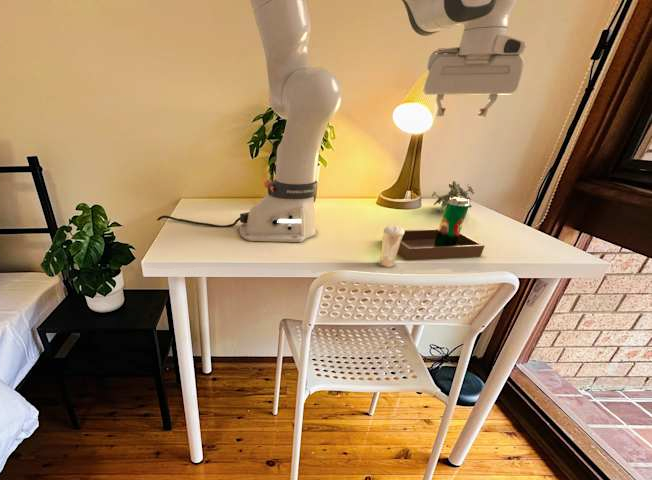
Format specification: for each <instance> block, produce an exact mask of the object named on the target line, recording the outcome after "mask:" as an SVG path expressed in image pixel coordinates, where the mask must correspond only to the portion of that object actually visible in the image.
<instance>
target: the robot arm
mask: <svg viewBox="0 0 652 480" xmlns="http://www.w3.org/2000/svg"><path fill="white" fill-rule="evenodd" d="M249 2H250V6H251V9H252V12H253V16H254V20H255V23H256V26H257V31H258V34H259V37H260V41H261V44H262V48H263V53H264V57H265V64H266V70H267V71H266V72H267V79H268V87H269V88H268V92H267V93H268V95H267V97H268V103H269V106H270V108H271V110H272V111H273V112H274V114H276V115H277V116H278V117H280V118H281V119H282V120H285V121H286V123H285V128H284V130H283V135H282V138H281V141H280V143H279V144H278V146H277V149H276V162H275V179H274V180H272V181H271V180H270V179H266V180H265V181H264V184H263V185H264V187H265V188H266V189H267V195H266V196H264V197H263V198H262V199H260V200H259V201H258V202H256V203H255V204H254V205H253V206H251V207H250V209H249V211H248V212H243V213H239V217H237V219H236V220H234V222H233V223H230V224H225V225H224V224H223V225H220V224H213V223H210V222H209V223H208V222H202V221H201V222H200V221H194V220H189V219H183V218H177V217H174V216H170V215H161V216H159V217H158V218H157V219H156V221H160V220H162V219H168V220H169V219H170V220H173V221H175V222H181V223H182V222H183V223H189V224H193V225H198V226H199V225H200V226H206V227H213V228H232V227H234V226H236V225H237V224H238V223H239V222H240V223H242V224H241V225H239V234H240V236H241V237H242V238H243V239H244V240H246V241H248V242H275V243H278V242H279V243H280V242H281V243H303V242H304V241H305V240H306V239H309V238H311V237H313V236H315V235H317V228H316V221H315V202H316V199H317V194H318V180H317V176H318V175H317V174H318V168H319V167H318V166H319V157H320V150H321V147H322V144H323V139H324V136H325V133H326V131H327V128H328V126H329V124H330V121H331V119H332V117H333V116H335V114H336V113H337V111H338V109H339V108H340V106H341V103H342V99H343V88H342V87H343V86H342V83H341V81H340V79H339V77H338V76H337V75H336V74H335V73H334V72H332V71H330V70H328V69H326V68H323V67H321V66H315V67H314V66H313V67H311V64H310V56H309V54H310V53H309V51H310V50H309V43H310V36H311V33H312V22H311V17H310V13H309V8H308V4H307V0H249ZM401 2H402V3H403V5H404V8H405V10H406V13H407V17H408V21H409V23H410V24H409V25H410V26H411V29H412V30H413V31H414V32H415V33H416V34H418V35H419V36H424V37H428V36H432V35H435V34H437V33H439V32H440V31H444V30H448V29H451V28H454V27H457V26H460V25H463V26H464V27H463V31H462V35H461V39H460V43H459V46H457V47H447V48H445V47H440V48H437V49H436V50H434V51H433V52H432V53H431V54H430V56H429V58H428V61H427V70H428V73H427V76H426V79H425V82H424V85H423V90H422V92H423V93H424V95H427V96H428V95H430V96H431V95H434V96H436V99H435V102H436V105H437V108H438V109H437V113H436V117H444V116H445V112H446V108H445V107H443V105H442V101H443V100H444V97H445V95H451V96H452V95H457V96H459V95H460V96H461V95H463V96H464V95H471V96H473V95H477V96H478V95H480V96H481V95H488V98H487V100H488V102H487V104H486V105H485V106H484V108H482V107H481V108H479V111H478V114H477V117H478V118H486V116H487V114H488V110H489V109H490V108H491V107H492V106H493V104H494V103H495V102H496V101H497V99H498V96H499V95H502V96H503V95H506V96H507V95H513V94H514V93H515V92H516V91H517V90H518V88H519V86H520V82H521V79H522V74H523V69H524V63H525V60H524V57H523V56H522V54H523V53H524V52H525V50H526V47H527V42H526V41H524V40H521V39H518V38H516V37H512V36H509V35H507V32H508V29H509V26H510V25H509V24H510V17H511V16H510V15H511V13H512V11H513V9H514V7H515V5H516V4H517V0H401Z"/></svg>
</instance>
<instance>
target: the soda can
mask: <svg viewBox="0 0 652 480" xmlns="http://www.w3.org/2000/svg"><path fill="white" fill-rule="evenodd" d="M469 209H470V208H469V200H468V199H465V198H460V197H452V198H450V199H449V201H448V202H447V203H446V206H445V207H444V210H443V213H442V216H441V220H440V223H439V226H438V228H437V229H438V233H437V236H436V239H435V245H436V247H439V246H456V243H457V240H458V237H459V234H460V232H461V231H462V228H463V225H464V222H465V219H466V217H467V214H468V212H469V211H468V210H469Z"/></svg>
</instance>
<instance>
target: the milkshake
mask: <svg viewBox="0 0 652 480" xmlns="http://www.w3.org/2000/svg"><path fill="white" fill-rule="evenodd" d="M404 230H405V229H404V228H403V227H401V226H400V225H388V226H386V227H385V228H383V232H382V241H381V251H380V256H379V263H378V264H379V265H380V266H381V267H385V268H391V267H393V266H394V264H395V261H396V258H397V255H398V253H397V252H398V249H399V247H400V244H401V241H402V239H403V236H404V233H405V231H404Z"/></svg>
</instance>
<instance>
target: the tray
mask: <svg viewBox="0 0 652 480" xmlns="http://www.w3.org/2000/svg"><path fill="white" fill-rule="evenodd" d="M438 229H439V228H431V229H430V228H428V229H404V231H405V233H404V236H403V239H402V241H401V244H400V247H399V249H398V252H397V255H399V256H400V257H402V258H403V259H404V260H405V261H418V260H441V259H461V258H479V257H482V254H483V251H484V249H485V246H486V245H485V244H482V243H481V242H479V241H477V240H475V239H473V238H471V237H470V236H468V235H466V234H464V233H462V232H461V231H460V234H459V237H458V240H457V243H456V246H439V247H436V245H435V239H436V236H437V233H438Z"/></svg>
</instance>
